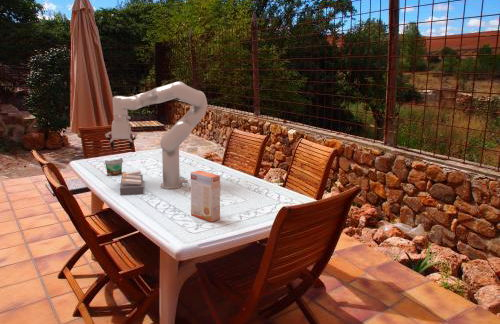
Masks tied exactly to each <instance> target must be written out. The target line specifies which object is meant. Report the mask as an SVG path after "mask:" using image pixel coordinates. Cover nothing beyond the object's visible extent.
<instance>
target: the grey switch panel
mask: <svg viewBox="0 0 500 324" xmlns="http://www.w3.org/2000/svg"><path fill="white" fill-rule="evenodd" d="M143 175H144V174H142V173H141V174H138V175H133V176H141V184H129V183H122V179H123V174H121V180H120V185H119V193H120V195H119V196H132V195H144V194H145V193H144V177H143Z"/></svg>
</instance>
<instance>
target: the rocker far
mask: <svg viewBox="0 0 500 324" xmlns="http://www.w3.org/2000/svg"><path fill="white" fill-rule="evenodd" d="M140 174H142V172H141V170H140V169H139V170H134V171H128V172H123V173H122V175H140Z"/></svg>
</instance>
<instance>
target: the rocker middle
mask: <svg viewBox="0 0 500 324" xmlns="http://www.w3.org/2000/svg"><path fill="white" fill-rule="evenodd" d="M122 175H123V174H122ZM123 179H133V180H141V176H133V175H123Z"/></svg>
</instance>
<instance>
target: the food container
mask: <svg viewBox="0 0 500 324" xmlns="http://www.w3.org/2000/svg"><path fill="white" fill-rule="evenodd" d="M123 163H124V160H123V157H119V159H112V160H104V165H105V168H106V176H109V177H117V176H122V175H123V173H122V172H123V171H122V170H123Z"/></svg>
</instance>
